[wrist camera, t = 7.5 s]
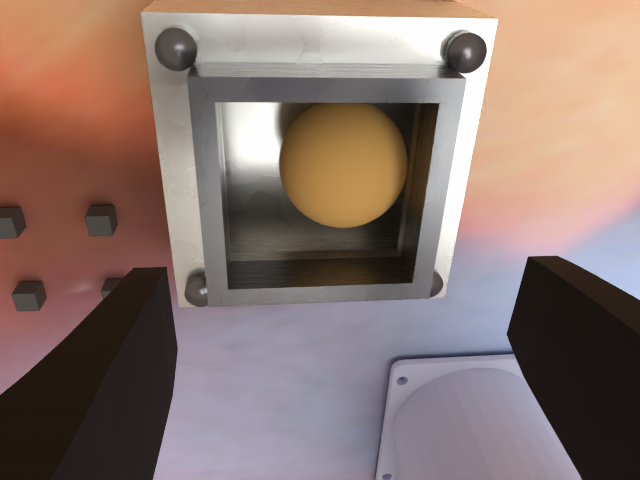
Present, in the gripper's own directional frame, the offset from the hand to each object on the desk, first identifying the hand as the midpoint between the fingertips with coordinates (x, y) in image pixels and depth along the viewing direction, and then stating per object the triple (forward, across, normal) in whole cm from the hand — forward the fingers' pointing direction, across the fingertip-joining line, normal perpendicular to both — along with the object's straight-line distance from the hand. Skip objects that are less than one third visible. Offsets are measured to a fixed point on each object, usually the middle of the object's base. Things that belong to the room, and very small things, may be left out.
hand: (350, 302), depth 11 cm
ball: (+9, 0, 0) cm, 9 cm away
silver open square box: (+9, 0, 0) cm, 9 cm away
